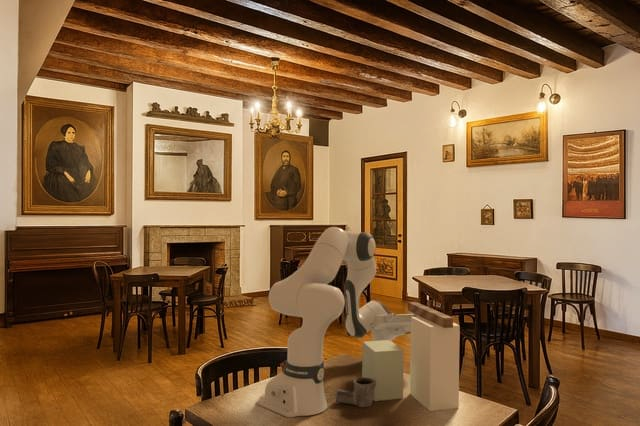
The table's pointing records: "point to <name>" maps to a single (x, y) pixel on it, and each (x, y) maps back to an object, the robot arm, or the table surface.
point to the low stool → (383, 368)
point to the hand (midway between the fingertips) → (405, 314)
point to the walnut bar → (431, 314)
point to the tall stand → (434, 364)
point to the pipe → (358, 393)
